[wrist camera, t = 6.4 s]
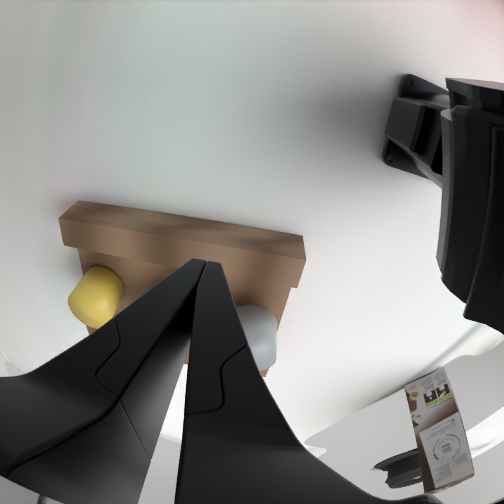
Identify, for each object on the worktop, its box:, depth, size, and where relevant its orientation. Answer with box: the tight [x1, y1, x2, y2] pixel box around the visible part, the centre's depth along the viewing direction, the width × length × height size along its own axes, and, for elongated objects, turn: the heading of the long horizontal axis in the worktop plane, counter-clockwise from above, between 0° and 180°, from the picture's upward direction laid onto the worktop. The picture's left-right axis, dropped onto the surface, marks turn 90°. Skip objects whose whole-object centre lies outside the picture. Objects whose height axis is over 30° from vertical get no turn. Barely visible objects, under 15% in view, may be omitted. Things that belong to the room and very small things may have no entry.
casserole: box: [374, 448, 423, 488], centre depth 50 cm, size 25×19×8 cm
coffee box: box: [404, 367, 474, 494], centre depth 27 cm, size 9×6×16 cm
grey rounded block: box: [236, 305, 277, 371], centre depth 22 cm, size 4×4×3 cm
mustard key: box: [68, 266, 125, 329], centre depth 22 cm, size 4×4×3 cm
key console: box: [59, 201, 306, 377], centre depth 24 cm, size 18×14×3 cm
